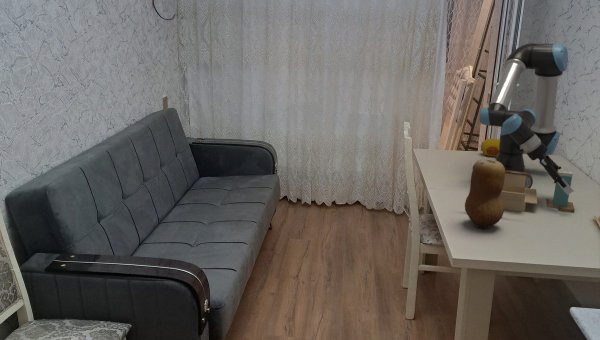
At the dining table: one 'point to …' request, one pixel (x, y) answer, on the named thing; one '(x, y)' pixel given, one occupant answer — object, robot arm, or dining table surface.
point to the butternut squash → (485, 193)
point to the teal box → (559, 194)
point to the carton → (517, 193)
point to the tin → (528, 177)
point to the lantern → (490, 147)
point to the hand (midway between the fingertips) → (569, 188)
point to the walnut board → (565, 209)
